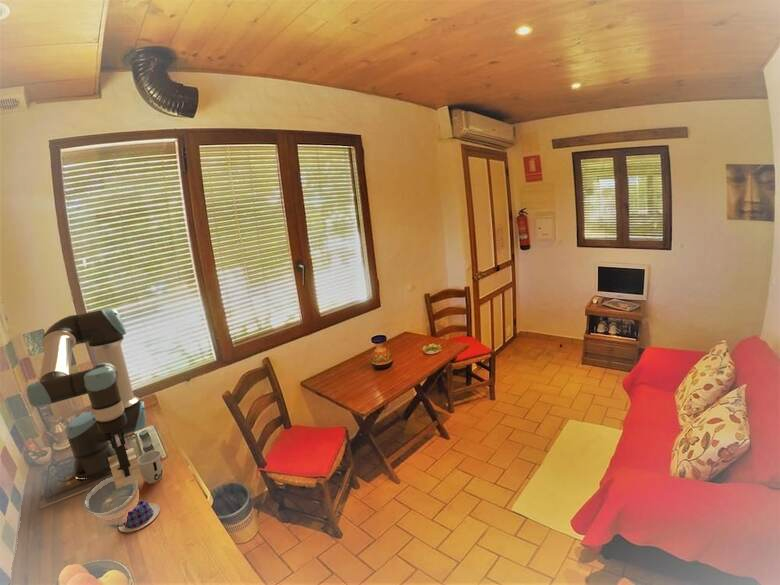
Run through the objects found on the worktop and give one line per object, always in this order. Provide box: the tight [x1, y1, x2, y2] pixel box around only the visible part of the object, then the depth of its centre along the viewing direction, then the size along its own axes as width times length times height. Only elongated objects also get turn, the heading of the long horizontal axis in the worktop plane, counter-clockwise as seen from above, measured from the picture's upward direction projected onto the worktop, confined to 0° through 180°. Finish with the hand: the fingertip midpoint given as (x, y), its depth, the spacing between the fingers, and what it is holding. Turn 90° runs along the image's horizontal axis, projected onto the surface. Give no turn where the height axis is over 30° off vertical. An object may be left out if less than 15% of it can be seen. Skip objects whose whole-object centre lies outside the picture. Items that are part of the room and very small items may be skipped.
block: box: [108, 447, 143, 490], centre depth 123 cm, size 7×7×8 cm
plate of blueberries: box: [117, 500, 161, 533], centre depth 128 cm, size 12×12×5 cm
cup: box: [137, 449, 164, 484], centre depth 146 cm, size 8×8×10 cm
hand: (127, 477), depth 124 cm, fingers closed on block, 7 cm apart
